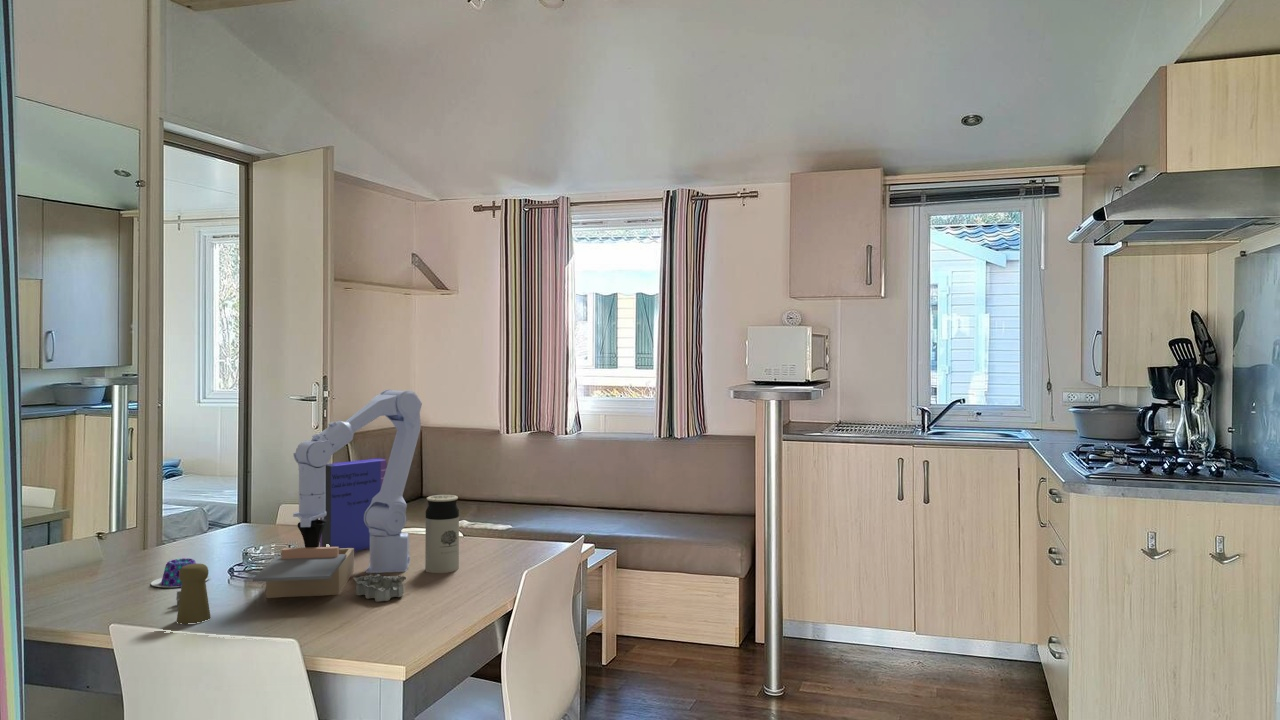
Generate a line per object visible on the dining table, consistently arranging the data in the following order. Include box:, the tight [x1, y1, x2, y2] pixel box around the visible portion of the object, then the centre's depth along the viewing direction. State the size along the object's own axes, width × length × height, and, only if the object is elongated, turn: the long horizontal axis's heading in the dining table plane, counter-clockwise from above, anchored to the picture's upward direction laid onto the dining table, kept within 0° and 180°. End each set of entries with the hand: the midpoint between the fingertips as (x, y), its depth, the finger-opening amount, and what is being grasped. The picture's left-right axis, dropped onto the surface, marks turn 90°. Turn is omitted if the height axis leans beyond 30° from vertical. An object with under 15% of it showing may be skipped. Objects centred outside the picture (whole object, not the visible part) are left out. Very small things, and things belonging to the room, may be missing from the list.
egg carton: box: [352, 573, 407, 603], centre depth 186 cm, size 11×8×4 cm
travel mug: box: [424, 494, 460, 574], centre depth 209 cm, size 8×8×18 cm
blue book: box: [319, 458, 387, 552], centre depth 231 cm, size 17×5×24 cm, turn 144°
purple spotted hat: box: [150, 557, 211, 589], centre depth 198 cm, size 12×12×5 cm
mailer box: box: [265, 548, 355, 599], centre depth 196 cm, size 15×20×6 cm
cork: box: [176, 562, 211, 624], centre depth 169 cm, size 6×6×11 cm
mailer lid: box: [252, 546, 346, 582], centre depth 185 cm, size 15×20×3 cm
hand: (312, 552), depth 195 cm, fingers closed
